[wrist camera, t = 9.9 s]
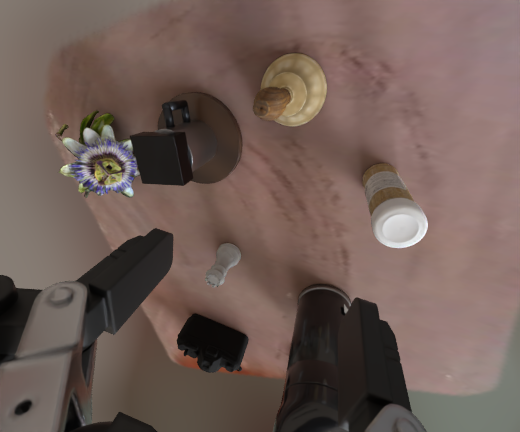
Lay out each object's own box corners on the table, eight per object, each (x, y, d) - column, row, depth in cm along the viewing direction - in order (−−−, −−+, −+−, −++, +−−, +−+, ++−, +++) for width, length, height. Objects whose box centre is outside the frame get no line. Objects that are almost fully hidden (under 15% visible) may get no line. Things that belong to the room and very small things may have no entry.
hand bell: (334, 113, 33) (331, 141, 19) (273, 134, 36) (233, 171, 22) (316, 40, 30) (298, 12, 16) (251, 70, 33) (191, 67, 19)
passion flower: (159, 149, 48) (145, 206, 42) (104, 153, 49) (83, 209, 43) (124, 96, 38) (100, 161, 32) (56, 102, 39) (21, 167, 33)
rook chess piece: (227, 264, 49) (210, 294, 43) (214, 246, 48) (194, 274, 41) (246, 257, 47) (231, 288, 41) (233, 238, 46) (214, 266, 39)
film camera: (186, 333, 64) (165, 369, 56) (191, 309, 59) (169, 344, 51) (243, 359, 62) (229, 398, 55) (253, 336, 57) (240, 376, 50)
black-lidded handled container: (219, 163, 39) (186, 188, 30) (182, 162, 40) (140, 185, 32) (211, 97, 35) (170, 105, 26) (170, 99, 36) (118, 107, 28)
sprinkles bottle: (394, 195, 36) (421, 253, 24) (359, 192, 37) (368, 246, 25) (402, 162, 33) (436, 209, 22) (364, 160, 34) (378, 204, 23)
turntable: (236, 190, 41) (233, 193, 40) (162, 169, 43) (158, 172, 42) (248, 103, 35) (245, 104, 34) (161, 83, 37) (155, 83, 36)
